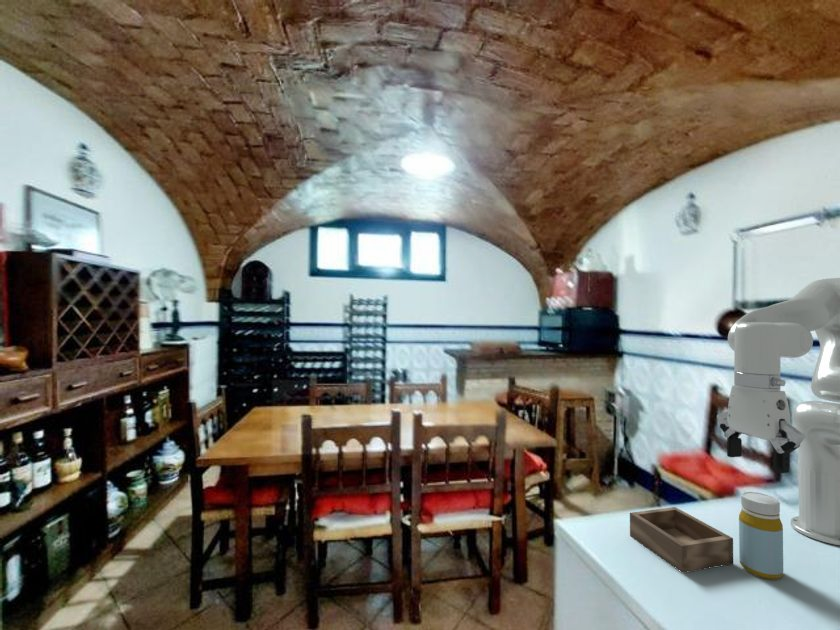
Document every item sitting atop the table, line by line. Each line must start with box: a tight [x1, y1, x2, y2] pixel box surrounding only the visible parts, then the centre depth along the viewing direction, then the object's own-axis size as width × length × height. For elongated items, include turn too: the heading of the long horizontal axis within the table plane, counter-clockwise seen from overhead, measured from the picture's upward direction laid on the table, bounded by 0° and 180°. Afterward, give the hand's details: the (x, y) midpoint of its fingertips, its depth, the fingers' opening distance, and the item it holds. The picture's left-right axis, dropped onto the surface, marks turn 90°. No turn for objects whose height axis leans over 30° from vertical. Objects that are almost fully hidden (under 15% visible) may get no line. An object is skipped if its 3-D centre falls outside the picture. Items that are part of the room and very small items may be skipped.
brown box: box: [629, 506, 734, 573], centre depth 94 cm, size 13×15×6 cm
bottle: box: [738, 491, 784, 580], centre depth 86 cm, size 7×7×15 cm
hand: (756, 464), depth 87 cm, fingers open, 9 cm apart
